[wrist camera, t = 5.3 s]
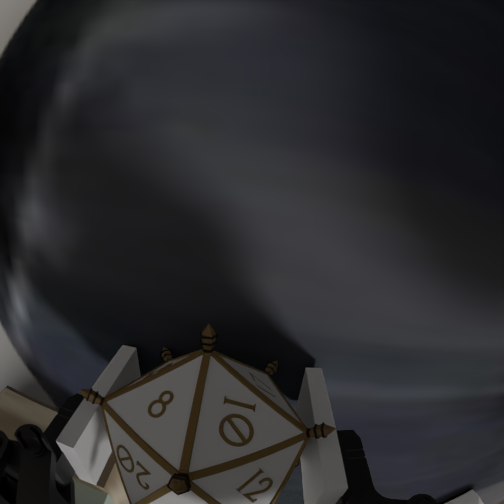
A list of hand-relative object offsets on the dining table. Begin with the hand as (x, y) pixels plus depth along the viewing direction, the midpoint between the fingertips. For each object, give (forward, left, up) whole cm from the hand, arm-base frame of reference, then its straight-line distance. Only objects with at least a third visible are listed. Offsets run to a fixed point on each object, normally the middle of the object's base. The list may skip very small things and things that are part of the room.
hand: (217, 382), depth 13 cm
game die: (0, 0, 0) cm, 0 cm away
